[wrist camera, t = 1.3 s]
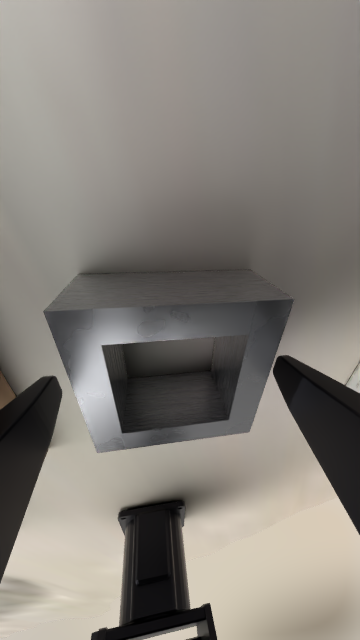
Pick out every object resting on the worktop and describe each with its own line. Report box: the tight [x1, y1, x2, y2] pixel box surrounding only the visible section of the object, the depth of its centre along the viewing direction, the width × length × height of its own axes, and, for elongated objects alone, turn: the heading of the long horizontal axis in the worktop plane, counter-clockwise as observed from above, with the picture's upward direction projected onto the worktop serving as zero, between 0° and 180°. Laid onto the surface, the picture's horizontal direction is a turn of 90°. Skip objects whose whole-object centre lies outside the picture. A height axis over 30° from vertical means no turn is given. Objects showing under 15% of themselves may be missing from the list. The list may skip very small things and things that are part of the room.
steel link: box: [44, 270, 294, 453], centre depth 9 cm, size 7×7×3 cm
